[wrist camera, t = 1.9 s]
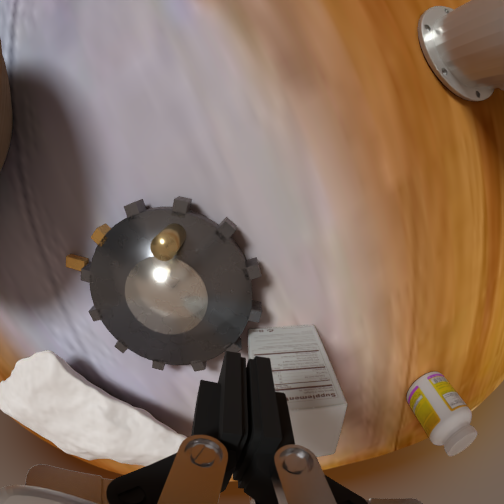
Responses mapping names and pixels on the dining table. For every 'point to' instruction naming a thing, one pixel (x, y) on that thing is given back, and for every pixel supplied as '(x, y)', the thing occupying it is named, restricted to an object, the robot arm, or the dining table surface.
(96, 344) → the dining table surface
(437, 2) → the dining table surface
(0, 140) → the flower pot
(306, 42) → the dining table surface
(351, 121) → the dining table surface
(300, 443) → the supplement box
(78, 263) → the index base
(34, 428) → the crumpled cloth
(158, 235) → the sprocket disc
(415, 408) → the supplement bottle
